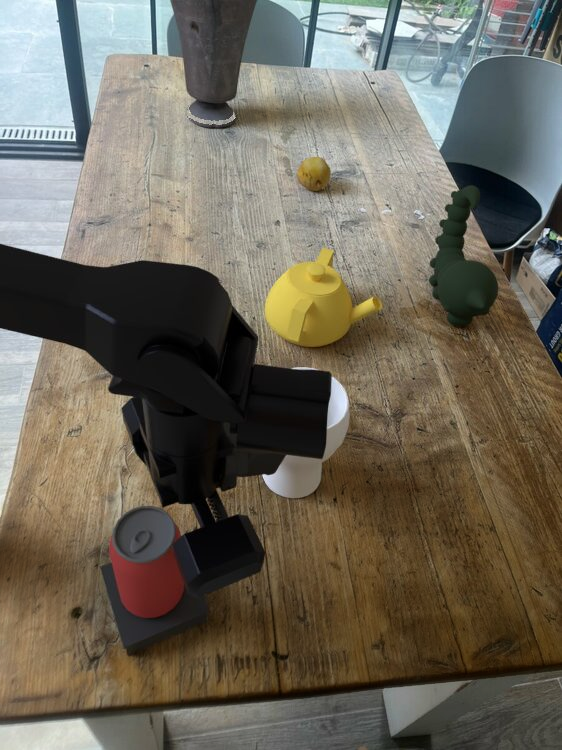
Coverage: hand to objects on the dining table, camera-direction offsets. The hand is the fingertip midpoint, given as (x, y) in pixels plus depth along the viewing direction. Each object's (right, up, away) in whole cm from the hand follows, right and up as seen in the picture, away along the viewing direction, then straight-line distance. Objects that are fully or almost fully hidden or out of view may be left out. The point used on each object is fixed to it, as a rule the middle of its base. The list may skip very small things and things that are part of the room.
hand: (189, 528), depth 54 cm
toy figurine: (+39, +28, +50) cm, 69 cm away
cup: (+10, +2, +21) cm, 24 cm away
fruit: (+15, +55, +72) cm, 92 cm away
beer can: (-5, -8, +6) cm, 11 cm away
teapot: (+15, +22, +41) cm, 49 cm away
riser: (-5, -10, +8) cm, 14 cm away
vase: (-9, +79, +91) cm, 121 cm away
